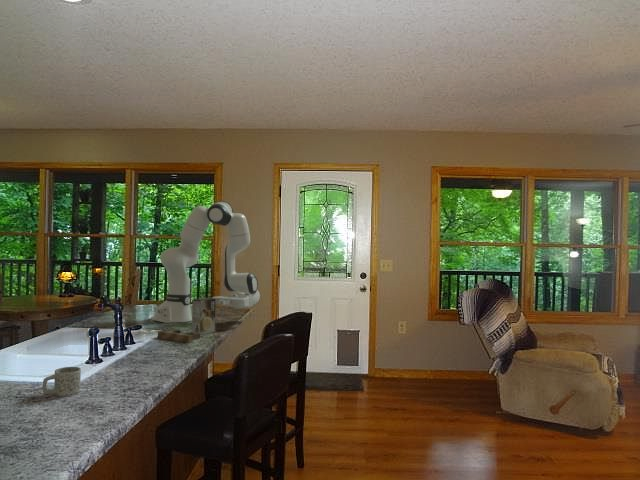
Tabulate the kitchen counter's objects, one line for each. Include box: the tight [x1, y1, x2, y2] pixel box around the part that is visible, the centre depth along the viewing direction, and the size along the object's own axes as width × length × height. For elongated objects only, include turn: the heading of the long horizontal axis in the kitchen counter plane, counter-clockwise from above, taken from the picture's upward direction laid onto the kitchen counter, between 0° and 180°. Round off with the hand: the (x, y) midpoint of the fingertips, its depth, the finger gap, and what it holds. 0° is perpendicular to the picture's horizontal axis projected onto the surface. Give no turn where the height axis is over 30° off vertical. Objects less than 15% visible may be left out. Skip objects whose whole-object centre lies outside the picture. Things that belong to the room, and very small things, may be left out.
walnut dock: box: [157, 330, 201, 344], centre depth 211 cm, size 18×10×3 cm, turn 64°
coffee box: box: [191, 297, 216, 336], centre depth 225 cm, size 9×6×16 cm
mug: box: [42, 366, 82, 398], centre depth 136 cm, size 10×7×7 cm, turn 141°
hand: (221, 302), depth 235 cm, fingers closed
